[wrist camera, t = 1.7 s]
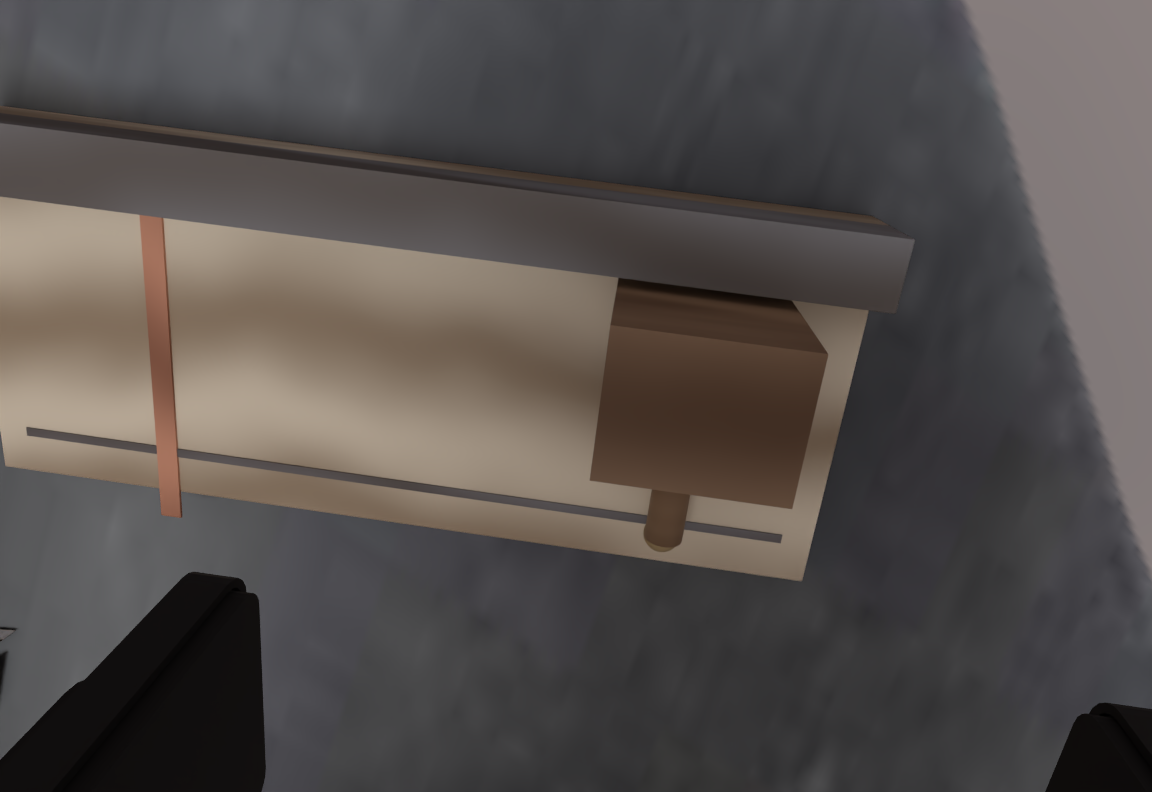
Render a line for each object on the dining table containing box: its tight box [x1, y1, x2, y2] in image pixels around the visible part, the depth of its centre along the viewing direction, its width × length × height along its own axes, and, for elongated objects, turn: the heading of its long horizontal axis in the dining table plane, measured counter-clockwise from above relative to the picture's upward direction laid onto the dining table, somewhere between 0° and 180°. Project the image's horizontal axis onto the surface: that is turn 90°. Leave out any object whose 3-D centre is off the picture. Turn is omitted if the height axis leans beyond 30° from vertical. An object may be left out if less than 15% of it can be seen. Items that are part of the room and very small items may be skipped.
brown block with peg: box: [590, 278, 828, 552], centre depth 23 cm, size 9×5×6 cm, turn 173°
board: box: [0, 106, 915, 581], centre depth 26 cm, size 13×28×4 cm, turn 83°
